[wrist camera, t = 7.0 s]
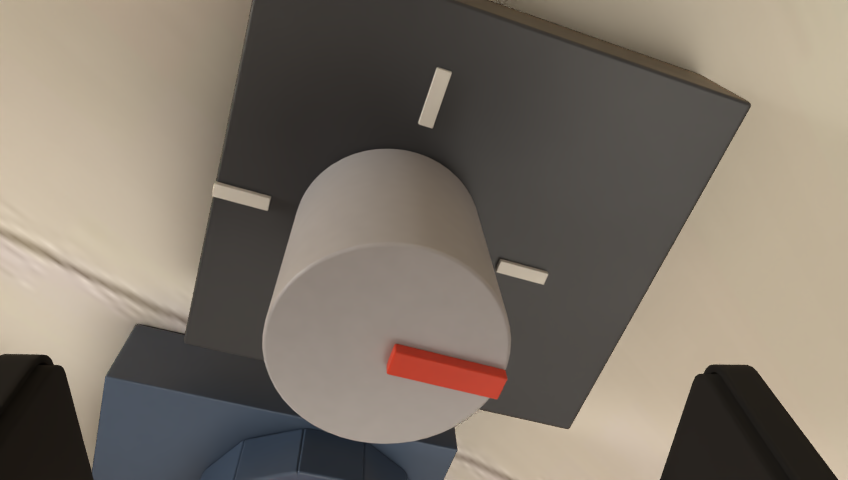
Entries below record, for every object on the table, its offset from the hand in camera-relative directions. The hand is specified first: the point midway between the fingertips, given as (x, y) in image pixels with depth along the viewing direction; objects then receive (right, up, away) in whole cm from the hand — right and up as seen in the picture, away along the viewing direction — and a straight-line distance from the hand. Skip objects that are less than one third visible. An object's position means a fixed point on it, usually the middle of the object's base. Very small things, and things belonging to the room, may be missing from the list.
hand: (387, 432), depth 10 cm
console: (+1, +4, +10) cm, 11 cm away
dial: (0, +3, +7) cm, 8 cm away
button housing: (-5, -5, +15) cm, 16 cm away
